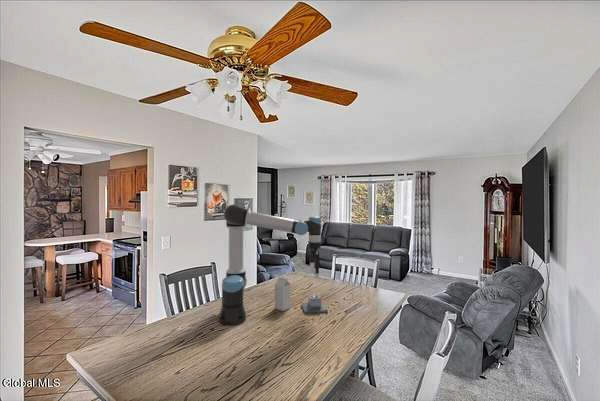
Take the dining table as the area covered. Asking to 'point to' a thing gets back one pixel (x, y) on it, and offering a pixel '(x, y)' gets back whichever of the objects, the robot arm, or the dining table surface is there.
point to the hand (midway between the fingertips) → (314, 275)
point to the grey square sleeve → (314, 302)
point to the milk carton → (282, 294)
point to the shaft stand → (314, 310)
